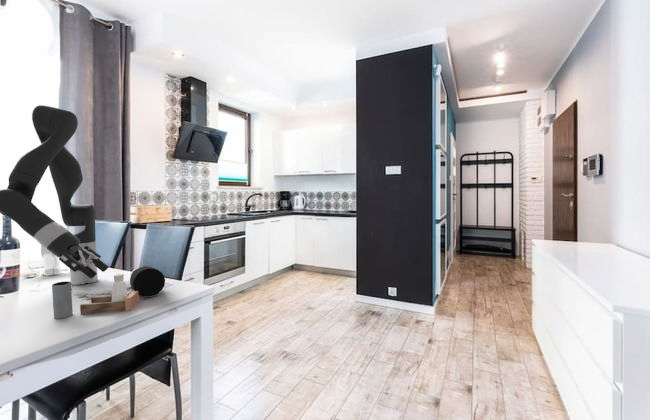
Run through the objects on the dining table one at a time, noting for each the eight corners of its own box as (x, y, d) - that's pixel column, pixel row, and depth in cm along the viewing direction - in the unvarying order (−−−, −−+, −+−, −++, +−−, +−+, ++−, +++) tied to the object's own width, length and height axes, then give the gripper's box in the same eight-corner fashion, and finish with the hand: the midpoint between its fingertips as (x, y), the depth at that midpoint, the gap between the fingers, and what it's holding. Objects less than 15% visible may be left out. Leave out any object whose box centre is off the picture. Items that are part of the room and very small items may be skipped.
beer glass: (38, 276, 147) (36, 243, 146) (50, 272, 154) (48, 241, 153) (54, 275, 147) (52, 243, 146) (65, 271, 154) (63, 241, 153)
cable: (143, 288, 142) (154, 266, 145) (157, 300, 115) (170, 273, 118) (119, 281, 137) (130, 258, 140) (127, 292, 109) (141, 264, 113)
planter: (54, 315, 99) (52, 282, 99) (72, 312, 102) (71, 280, 101) (53, 320, 96) (51, 286, 95) (72, 316, 98) (70, 283, 98)
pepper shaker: (115, 311, 102) (113, 277, 102) (107, 308, 105) (105, 275, 105) (132, 306, 107) (131, 273, 106) (124, 303, 110) (123, 271, 109)
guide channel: (80, 314, 100) (79, 301, 100) (92, 305, 108) (91, 294, 107) (130, 310, 103) (130, 298, 103) (138, 302, 111) (138, 290, 111)
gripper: (53, 233, 94) (99, 269, 98) (78, 228, 108) (118, 259, 112) (33, 252, 93) (80, 288, 97) (61, 244, 107) (101, 275, 111)
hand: (100, 272), depth 104 cm, fingers open, 8 cm apart
